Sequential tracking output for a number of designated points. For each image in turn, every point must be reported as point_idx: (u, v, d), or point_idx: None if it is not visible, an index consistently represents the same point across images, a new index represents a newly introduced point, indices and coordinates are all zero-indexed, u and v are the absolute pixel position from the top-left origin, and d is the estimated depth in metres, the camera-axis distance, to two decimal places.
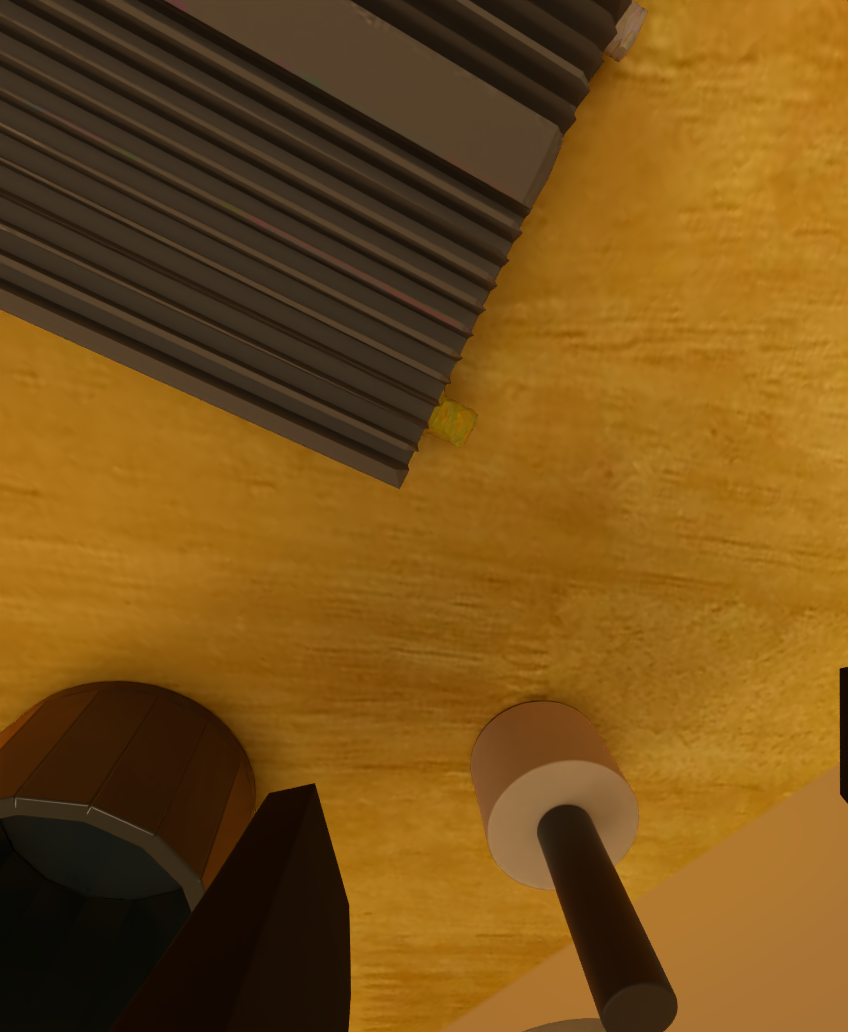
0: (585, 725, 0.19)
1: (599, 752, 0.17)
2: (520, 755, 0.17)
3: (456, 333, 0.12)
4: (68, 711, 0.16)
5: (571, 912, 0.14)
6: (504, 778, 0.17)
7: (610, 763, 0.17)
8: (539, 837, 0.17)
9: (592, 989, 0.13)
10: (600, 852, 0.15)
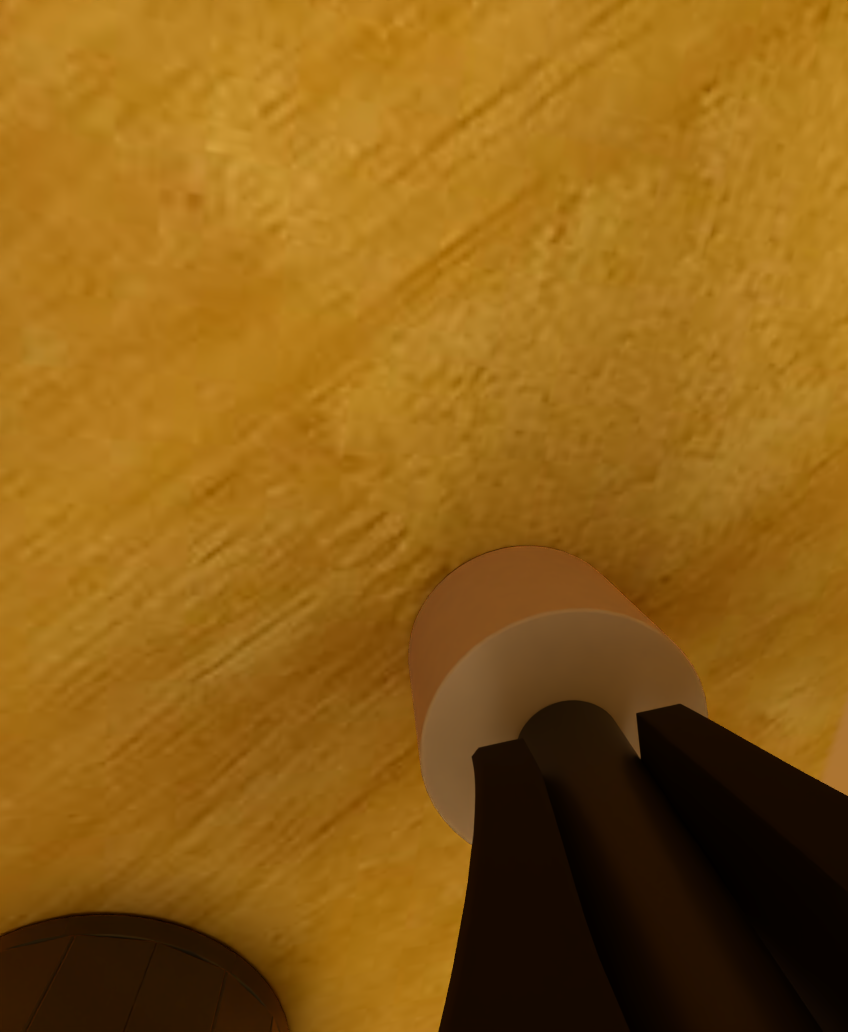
0: (513, 563, 0.10)
1: (528, 594, 0.09)
2: (420, 693, 0.09)
3: None
4: None
5: None
6: (418, 746, 0.09)
7: (551, 599, 0.09)
8: None
9: None
10: (595, 776, 0.07)
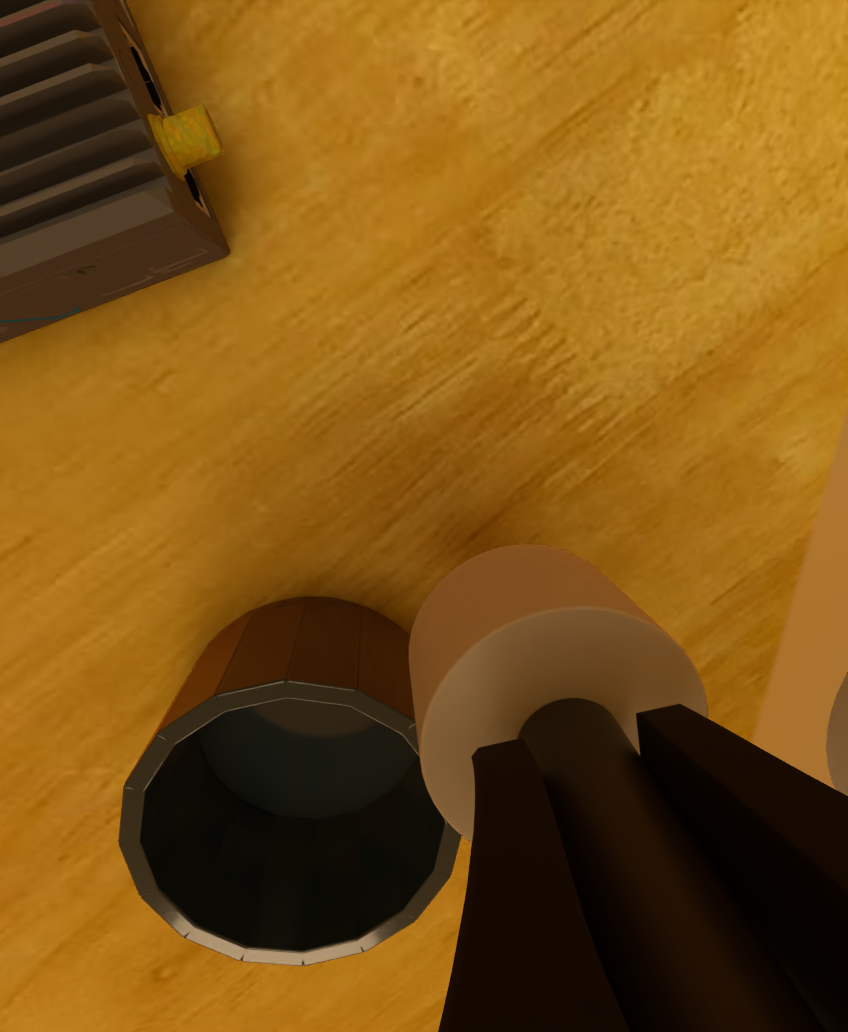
0: (513, 561, 0.10)
1: (528, 592, 0.09)
2: (420, 692, 0.09)
3: (87, 31, 0.11)
4: (191, 672, 0.17)
5: None
6: (418, 744, 0.09)
7: (551, 596, 0.09)
8: None
9: None
10: (595, 773, 0.07)
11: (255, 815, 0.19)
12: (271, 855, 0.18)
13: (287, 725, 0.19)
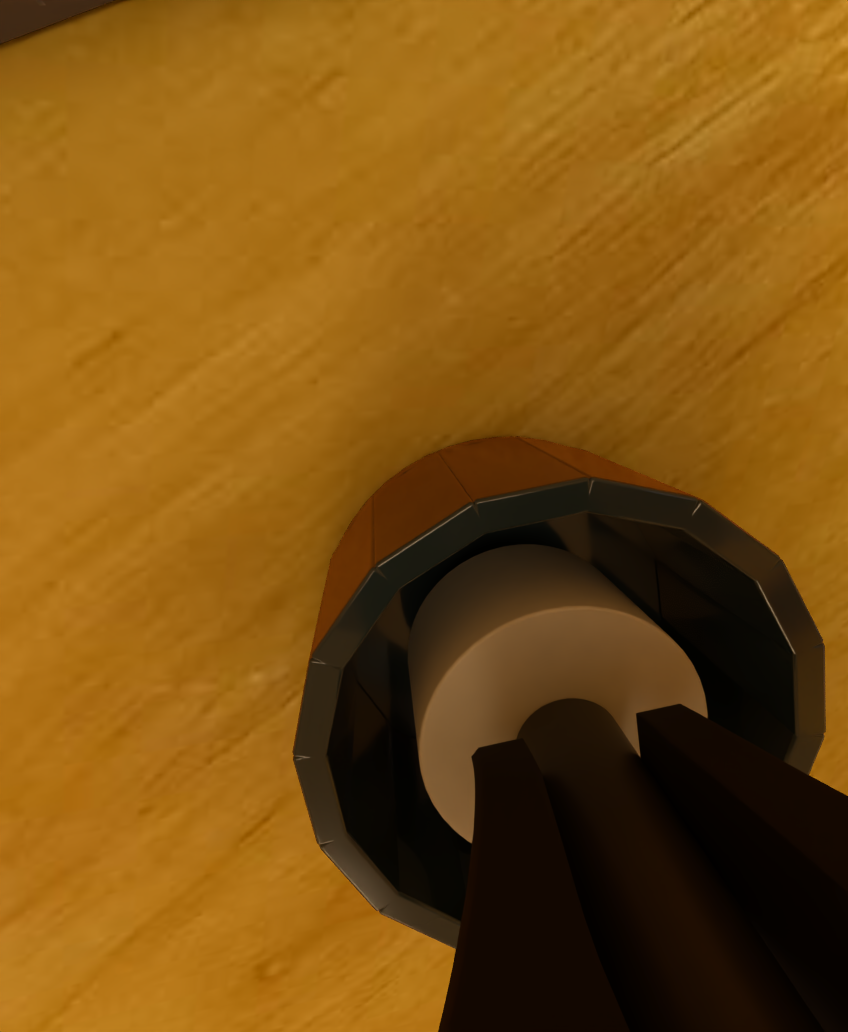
0: (512, 561, 0.10)
1: (526, 592, 0.09)
2: (419, 692, 0.09)
3: None
4: (358, 527, 0.11)
5: None
6: (417, 744, 0.09)
7: (550, 597, 0.09)
8: None
9: None
10: (595, 775, 0.07)
11: None
12: None
13: None
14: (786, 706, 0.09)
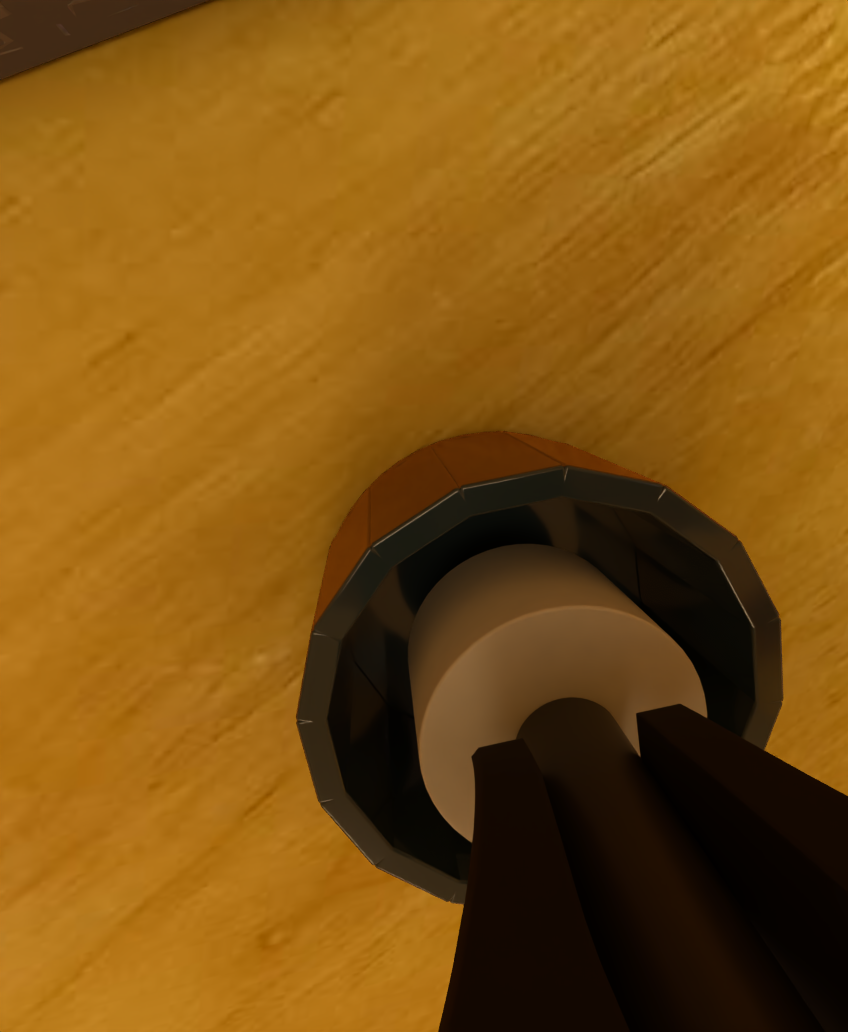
0: (512, 561, 0.10)
1: (527, 592, 0.09)
2: (419, 691, 0.09)
3: None
4: (355, 515, 0.12)
5: None
6: (417, 743, 0.09)
7: (550, 596, 0.09)
8: None
9: None
10: (594, 773, 0.07)
11: (414, 726, 0.14)
12: None
13: None
14: (747, 676, 0.10)
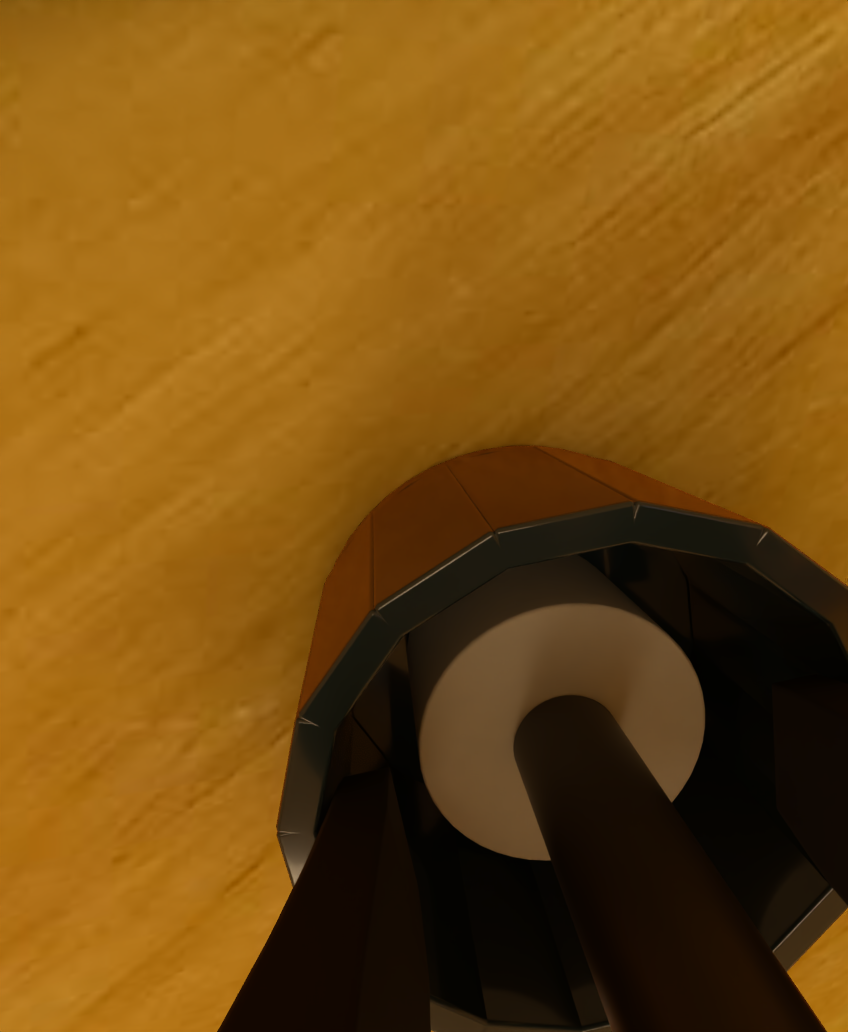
0: None
1: (526, 590, 0.09)
2: (418, 689, 0.09)
3: None
4: (355, 549, 0.10)
5: (580, 940, 0.06)
6: None
7: (549, 594, 0.09)
8: None
9: None
10: (593, 770, 0.07)
11: (424, 794, 0.12)
12: (465, 856, 0.11)
13: None
14: None
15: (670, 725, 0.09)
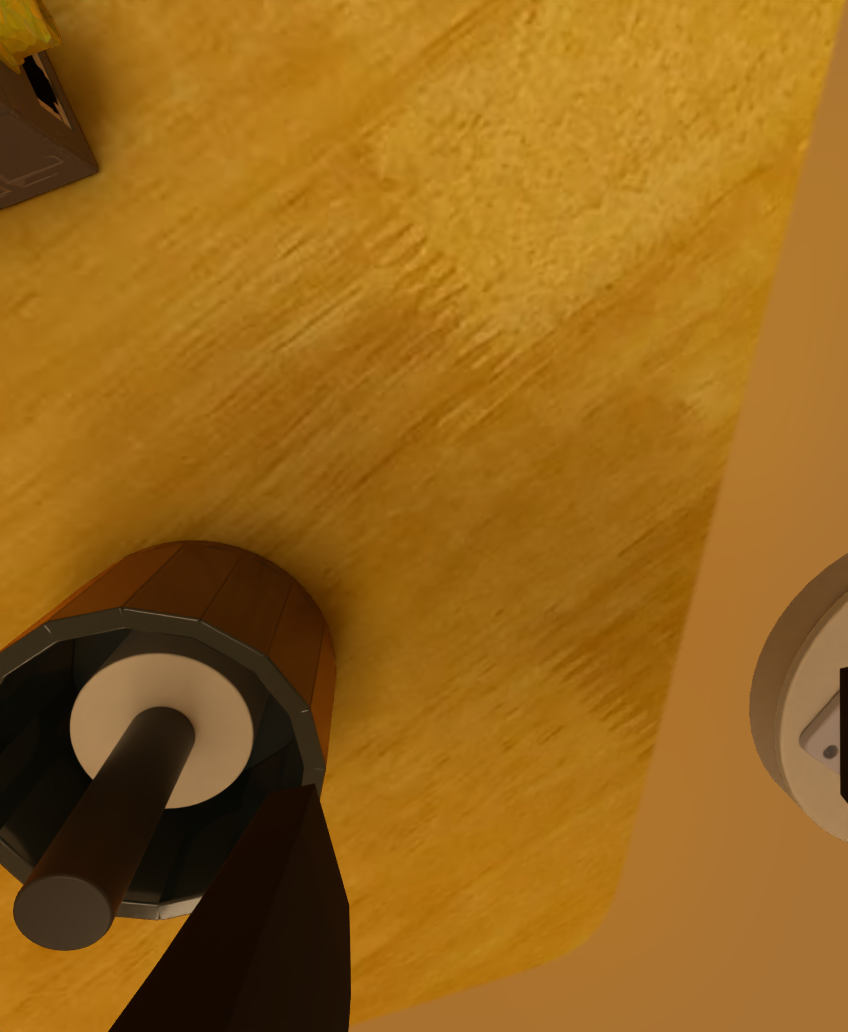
0: None
1: (142, 643, 0.15)
2: None
3: None
4: None
5: None
6: None
7: (148, 646, 0.15)
8: None
9: None
10: (122, 749, 0.13)
11: None
12: None
13: None
14: None
15: (229, 725, 0.15)
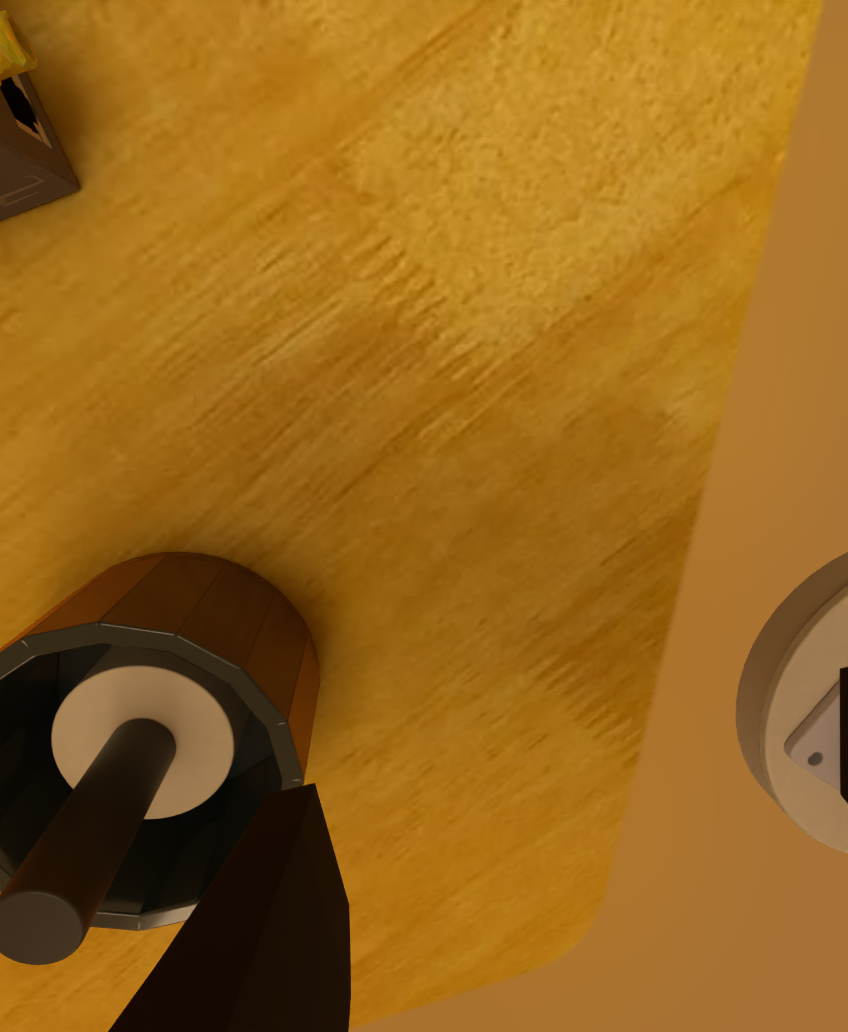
0: None
1: (123, 655, 0.15)
2: None
3: None
4: None
5: None
6: None
7: (129, 658, 0.15)
8: None
9: None
10: (101, 762, 0.13)
11: None
12: None
13: None
14: None
15: (209, 736, 0.15)
